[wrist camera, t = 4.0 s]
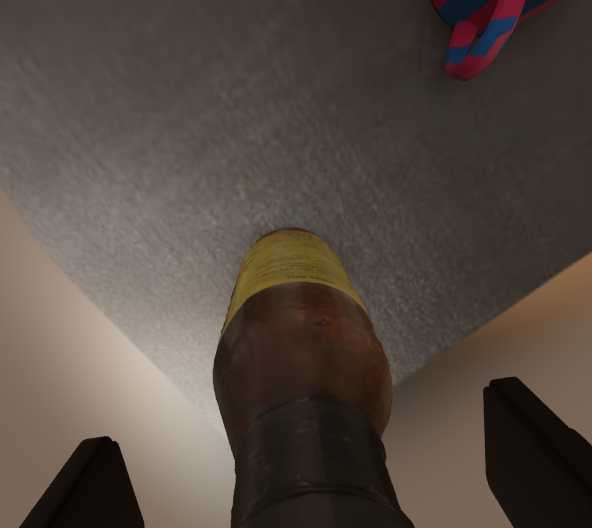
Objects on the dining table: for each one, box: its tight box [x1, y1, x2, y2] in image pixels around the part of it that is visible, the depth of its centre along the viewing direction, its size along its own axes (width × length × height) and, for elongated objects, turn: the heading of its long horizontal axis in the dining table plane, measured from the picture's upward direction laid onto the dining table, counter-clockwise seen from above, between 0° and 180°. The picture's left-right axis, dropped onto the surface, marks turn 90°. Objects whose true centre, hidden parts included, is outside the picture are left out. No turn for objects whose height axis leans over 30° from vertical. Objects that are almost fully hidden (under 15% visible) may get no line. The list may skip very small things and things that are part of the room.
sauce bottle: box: [213, 228, 415, 528], centre depth 16 cm, size 7×6×20 cm
